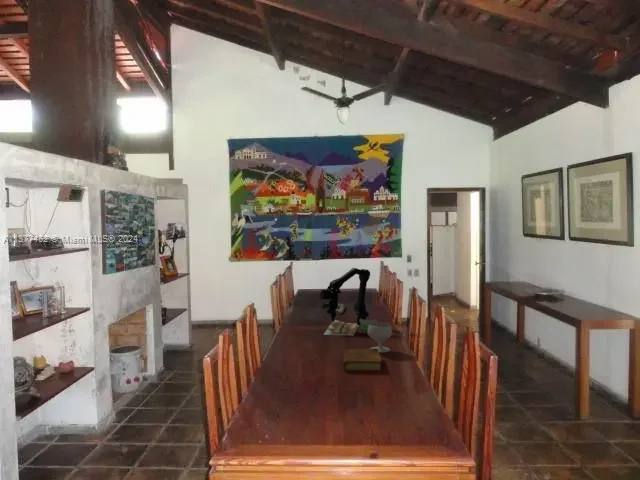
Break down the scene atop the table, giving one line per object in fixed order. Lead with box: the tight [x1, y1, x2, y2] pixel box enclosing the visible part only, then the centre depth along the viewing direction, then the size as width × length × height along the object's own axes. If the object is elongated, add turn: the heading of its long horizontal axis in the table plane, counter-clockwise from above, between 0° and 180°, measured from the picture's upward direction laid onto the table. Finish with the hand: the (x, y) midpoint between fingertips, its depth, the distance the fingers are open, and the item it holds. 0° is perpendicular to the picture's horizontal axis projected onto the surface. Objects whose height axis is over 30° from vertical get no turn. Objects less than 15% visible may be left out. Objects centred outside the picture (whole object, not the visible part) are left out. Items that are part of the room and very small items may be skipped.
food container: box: [359, 318, 378, 336], centre depth 311 cm, size 12×6×10 cm, turn 62°
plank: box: [327, 319, 346, 333], centre depth 324 cm, size 8×24×2 cm, turn 169°
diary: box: [342, 348, 382, 372], centre depth 247 cm, size 23×19×6 cm
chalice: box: [368, 321, 393, 354], centre depth 272 cm, size 14×14×15 cm
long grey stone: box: [336, 303, 346, 315], centre depth 394 cm, size 35×5×10 cm
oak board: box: [341, 322, 358, 334], centre depth 322 cm, size 7×24×2 cm, turn 169°
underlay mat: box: [323, 324, 360, 337], centre depth 323 cm, size 20×30×1 cm, turn 169°
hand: (333, 321), depth 330 cm, fingers closed, pressing on plank
